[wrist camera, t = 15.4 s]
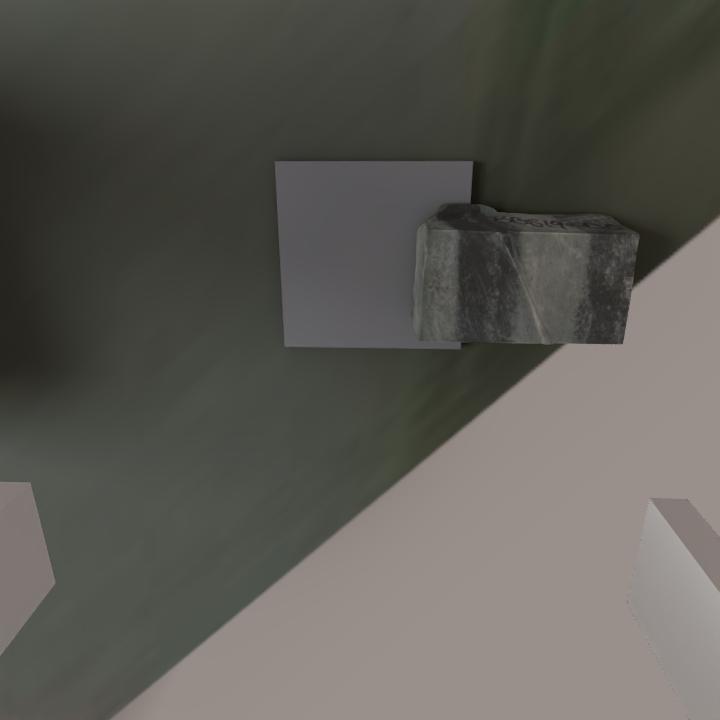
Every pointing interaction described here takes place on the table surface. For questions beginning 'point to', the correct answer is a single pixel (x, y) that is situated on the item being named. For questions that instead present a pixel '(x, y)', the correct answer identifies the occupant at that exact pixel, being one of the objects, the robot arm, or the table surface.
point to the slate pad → (357, 247)
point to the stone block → (522, 277)
